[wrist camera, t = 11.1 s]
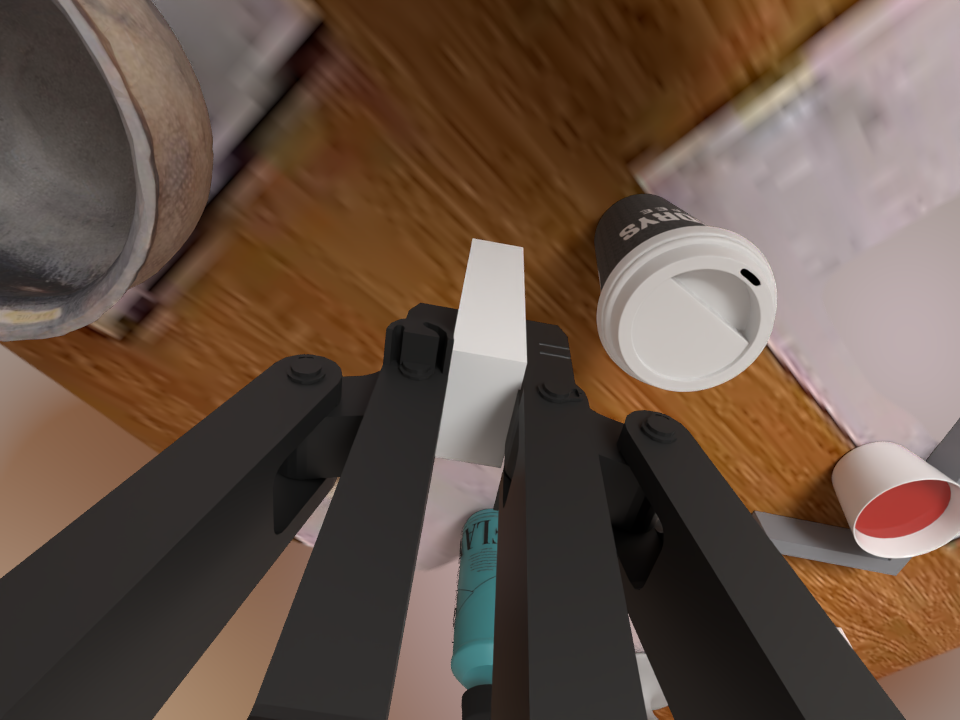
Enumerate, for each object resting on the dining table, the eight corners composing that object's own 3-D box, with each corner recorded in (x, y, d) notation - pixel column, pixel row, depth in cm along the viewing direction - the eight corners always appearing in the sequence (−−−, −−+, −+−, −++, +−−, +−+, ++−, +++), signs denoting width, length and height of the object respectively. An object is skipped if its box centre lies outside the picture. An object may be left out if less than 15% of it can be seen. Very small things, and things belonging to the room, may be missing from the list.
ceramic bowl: (-142, -75, 35) (-524, -137, 22) (195, -127, 33) (-7, -227, 20) (35, 266, 46) (-151, 360, 33) (296, 243, 44) (207, 332, 31)
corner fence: (842, 370, 47) (865, 393, 44) (992, 402, 48) (1025, 426, 45) (747, 522, 56) (760, 550, 53) (875, 546, 57) (895, 575, 54)
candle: (876, 516, 55) (917, 569, 50) (797, 488, 54) (830, 540, 49) (946, 449, 51) (999, 499, 46) (862, 417, 50) (906, 464, 44)
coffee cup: (722, 260, 43) (814, 359, 30) (605, 316, 46) (643, 429, 33) (676, 145, 39) (759, 202, 26) (551, 213, 42) (571, 295, 29)
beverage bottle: (512, 488, 56) (514, 695, 38) (536, 534, 59) (547, 746, 41) (451, 505, 57) (427, 712, 40) (477, 549, 60) (465, 760, 43)
